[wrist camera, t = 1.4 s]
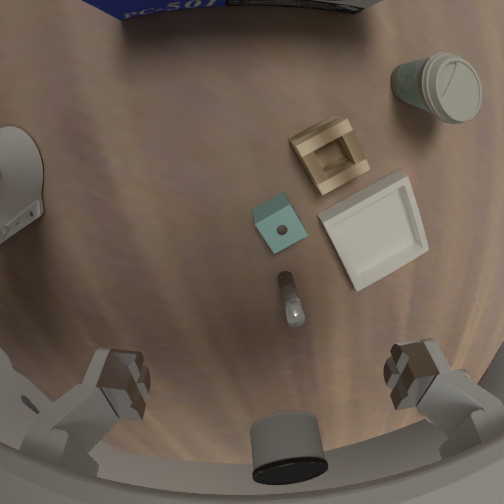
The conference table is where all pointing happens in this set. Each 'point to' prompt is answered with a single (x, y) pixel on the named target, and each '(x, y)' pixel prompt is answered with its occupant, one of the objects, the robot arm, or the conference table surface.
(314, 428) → the container
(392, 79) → the coffee cup
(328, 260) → the conference table surface
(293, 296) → the cylinder
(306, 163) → the beech block
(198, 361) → the conference table surface
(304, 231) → the teal cube
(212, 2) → the ink box
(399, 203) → the tray
